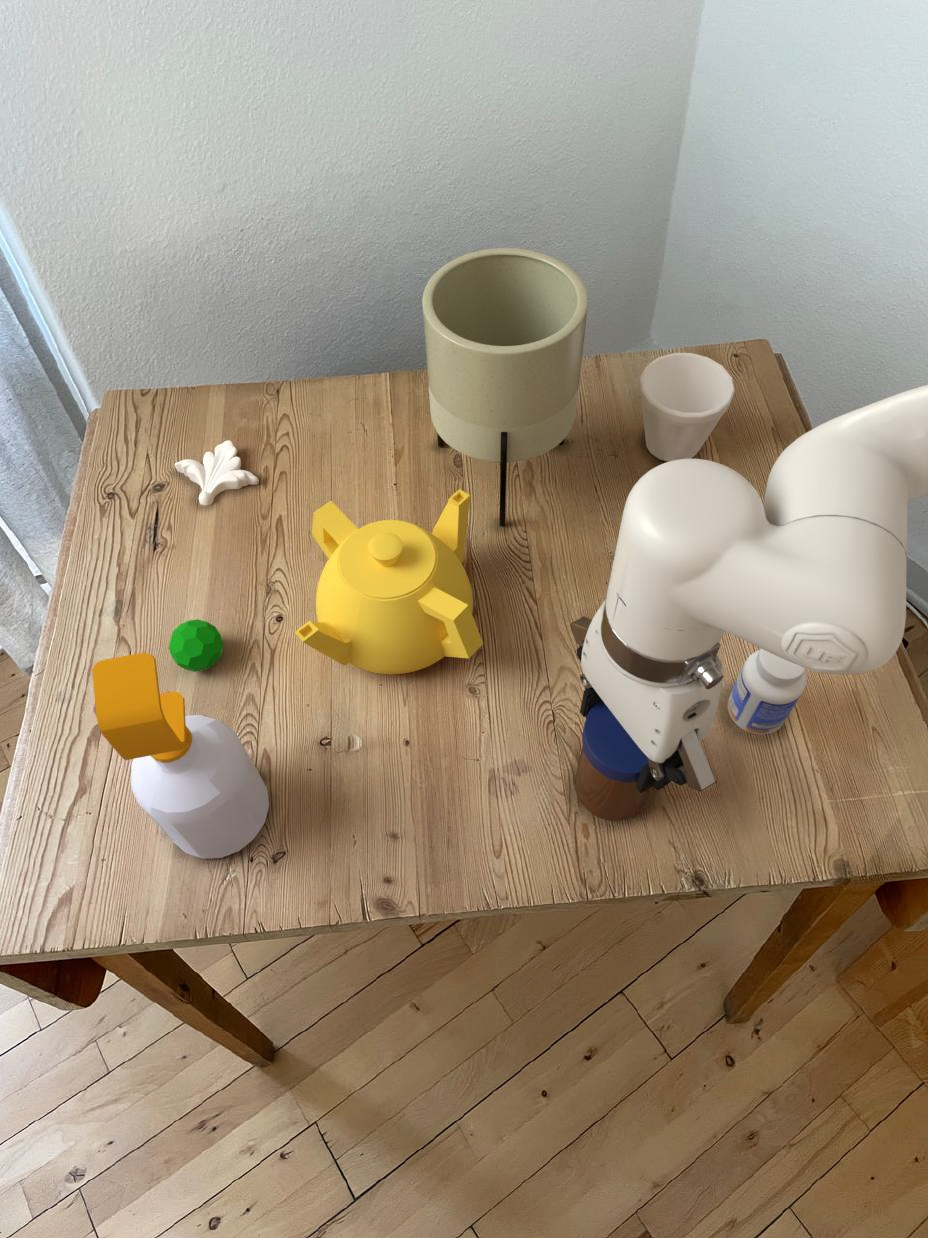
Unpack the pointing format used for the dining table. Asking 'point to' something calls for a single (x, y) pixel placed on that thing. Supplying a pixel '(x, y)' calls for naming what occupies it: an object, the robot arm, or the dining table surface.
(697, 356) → the cup
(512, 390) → the planter
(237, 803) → the soap bottle
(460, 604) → the teapot
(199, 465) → the acanthus leaf ornament
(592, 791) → the jam jar
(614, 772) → the jar lid
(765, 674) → the pill bottle
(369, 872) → the dining table surface
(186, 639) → the polyhedron
